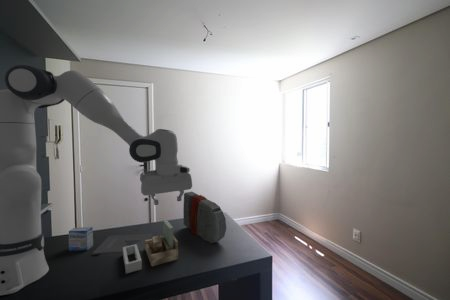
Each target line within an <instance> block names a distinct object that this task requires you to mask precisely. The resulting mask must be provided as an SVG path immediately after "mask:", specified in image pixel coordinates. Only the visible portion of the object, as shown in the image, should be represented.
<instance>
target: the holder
mask: <svg viewBox="0 0 450 300" xmlns="http://www.w3.org/2000/svg"><path fill="white" fill-rule="evenodd" d="M134 244H135V243H134ZM130 255H134V258H135V260H132V261H129V258H128V256H130ZM122 257H123V262H124V263H123V264H124V268H125V274H129V273H133V272H136V271H140V270H142V269H143V261H142V258H141V253H140V251H139V250H138V247H137V244H135V245H133V244H131V245H128V246H126V247H123V252H122Z"/></svg>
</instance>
